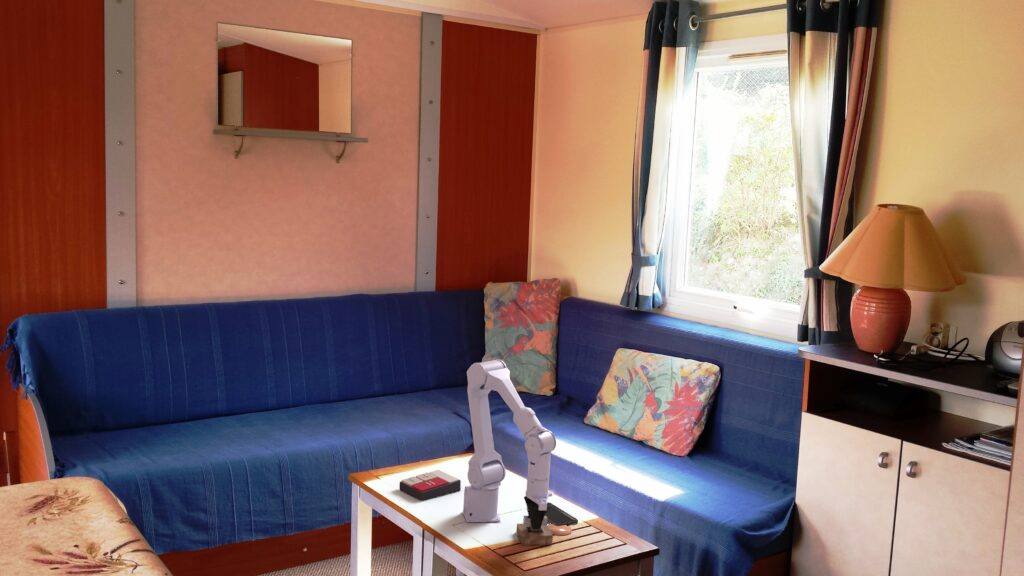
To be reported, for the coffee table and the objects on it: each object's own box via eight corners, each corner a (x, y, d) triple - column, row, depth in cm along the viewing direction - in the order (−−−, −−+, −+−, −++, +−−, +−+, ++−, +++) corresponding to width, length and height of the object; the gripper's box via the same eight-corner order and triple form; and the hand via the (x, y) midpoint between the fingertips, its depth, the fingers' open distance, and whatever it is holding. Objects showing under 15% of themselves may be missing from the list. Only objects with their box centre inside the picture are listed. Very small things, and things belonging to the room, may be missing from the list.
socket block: (522, 545, 232) (523, 536, 231) (516, 532, 240) (516, 523, 239) (552, 544, 233) (552, 535, 233) (545, 531, 241) (545, 523, 241)
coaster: (549, 535, 239) (549, 534, 239) (543, 525, 246) (543, 523, 246) (574, 535, 240) (574, 533, 240) (567, 524, 247) (567, 523, 247)
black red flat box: (398, 479, 264) (438, 467, 275) (398, 493, 265) (438, 480, 275) (421, 490, 257) (461, 477, 267) (421, 504, 257) (461, 491, 268)
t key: (524, 540, 235) (525, 519, 234) (521, 536, 237) (523, 515, 236) (546, 540, 236) (547, 518, 235) (543, 536, 238) (545, 514, 237)
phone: (549, 501, 261) (579, 520, 248) (548, 505, 261) (579, 524, 249) (526, 505, 257) (556, 525, 244) (526, 509, 257) (556, 529, 244)
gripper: (559, 486, 228) (556, 537, 230) (546, 467, 242) (543, 515, 244) (532, 487, 226) (529, 537, 228) (521, 467, 241) (518, 515, 242)
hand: (534, 526), depth 236 cm, fingers closed on t key, 3 cm apart
